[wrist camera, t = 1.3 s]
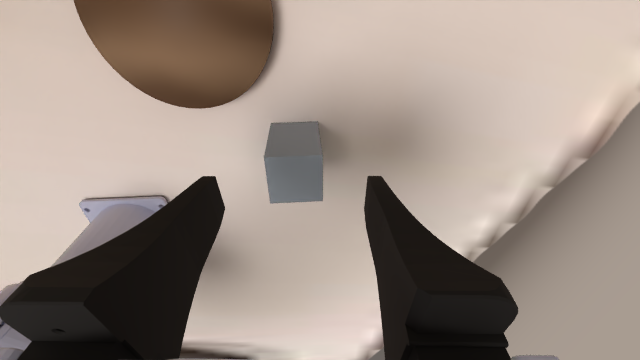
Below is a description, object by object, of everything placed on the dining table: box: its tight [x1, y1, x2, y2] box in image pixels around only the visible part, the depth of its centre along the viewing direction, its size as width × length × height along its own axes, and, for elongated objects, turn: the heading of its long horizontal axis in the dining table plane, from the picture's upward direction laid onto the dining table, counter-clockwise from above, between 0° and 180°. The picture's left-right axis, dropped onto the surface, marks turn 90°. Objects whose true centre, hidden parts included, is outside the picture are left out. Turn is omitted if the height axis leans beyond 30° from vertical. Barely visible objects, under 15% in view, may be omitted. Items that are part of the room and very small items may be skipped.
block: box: [264, 122, 323, 203], centre depth 23 cm, size 4×4×6 cm
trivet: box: [74, 0, 274, 108], centre depth 18 cm, size 12×12×2 cm
